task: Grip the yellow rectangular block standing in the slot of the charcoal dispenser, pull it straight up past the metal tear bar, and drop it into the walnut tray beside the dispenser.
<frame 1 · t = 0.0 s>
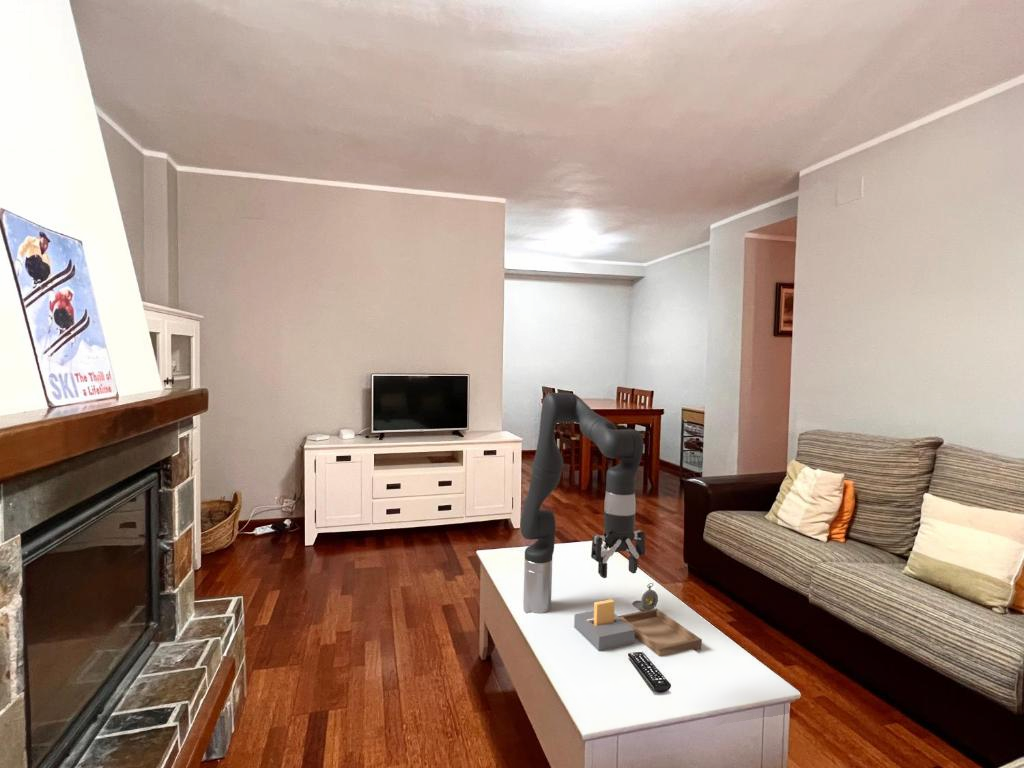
hand: (617, 574, 126), 29 cm above the table, tool pointing down, fingers open, 8 cm apart
tray: (657, 637, 153), on the table
dispenser: (603, 638, 151), on the table
yellow rectangular block: (603, 635, 151), point 1 cm above the table, touching dispenser
pocket watch: (644, 610, 170), on the table
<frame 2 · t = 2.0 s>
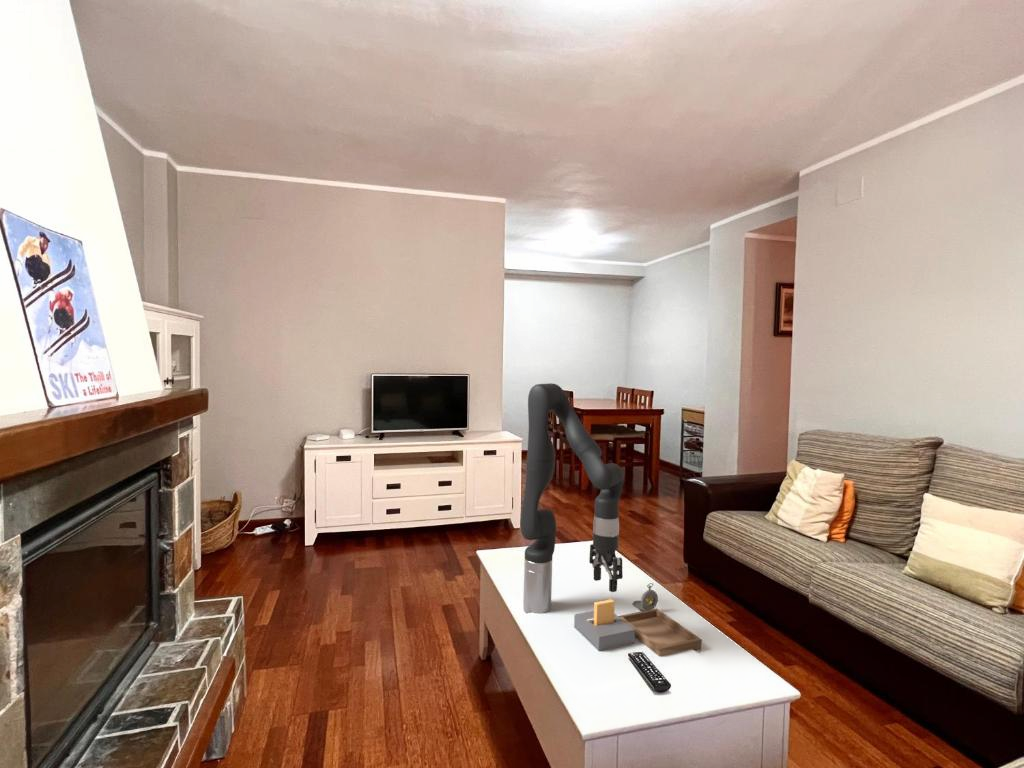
hand: (604, 585, 151), 16 cm above the table, tool pointing down, fingers open, 8 cm apart
nothing on the table moved.
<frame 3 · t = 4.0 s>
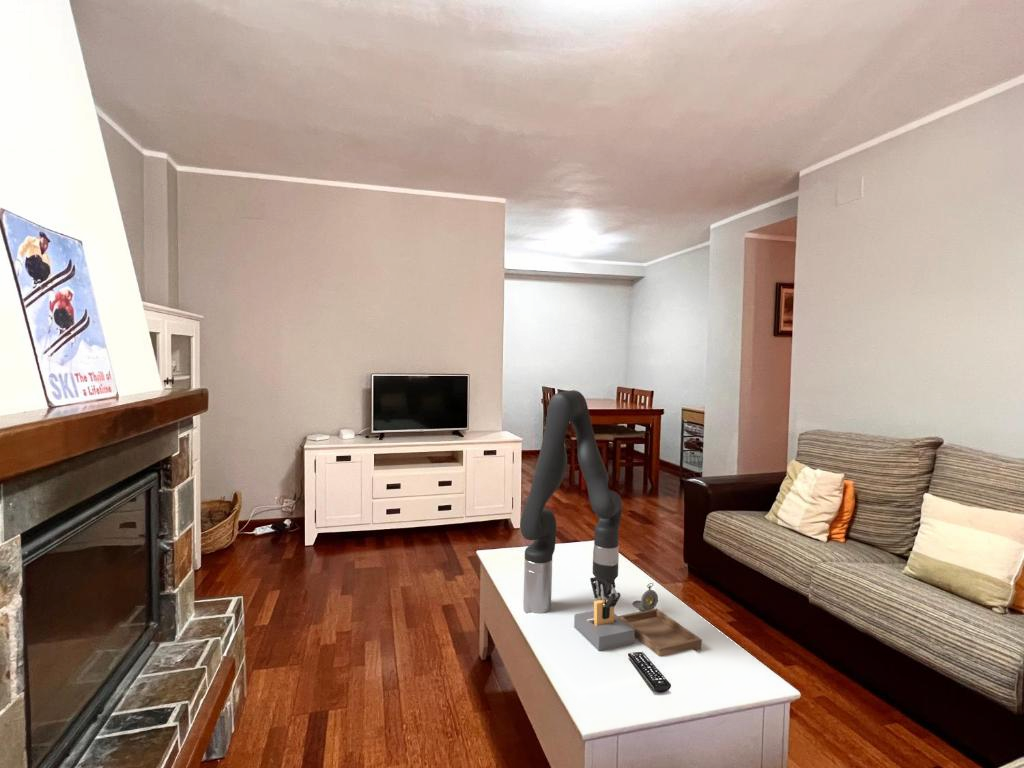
hand: (603, 616, 151), 7 cm above the table, tool pointing down, fingers closed on yellow rectangular block, 1 cm apart
yellow rectangular block: (604, 633, 152), point 1 cm above the table, touching gripper
everything else where it was.
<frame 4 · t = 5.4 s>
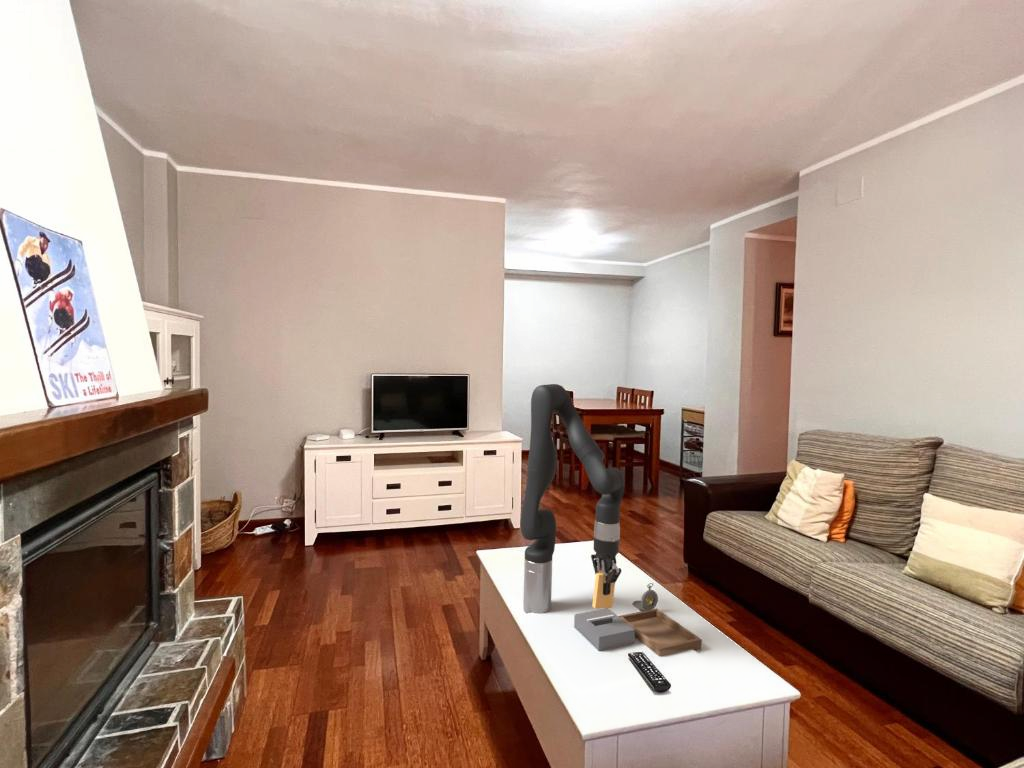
hand: (604, 592, 151), 14 cm above the table, tool pointing down, fingers closed on yellow rectangular block, 1 cm apart
yellow rectangular block: (602, 606, 151), point 9 cm above the table, tilted 6°, touching gripper
everything else where it was.
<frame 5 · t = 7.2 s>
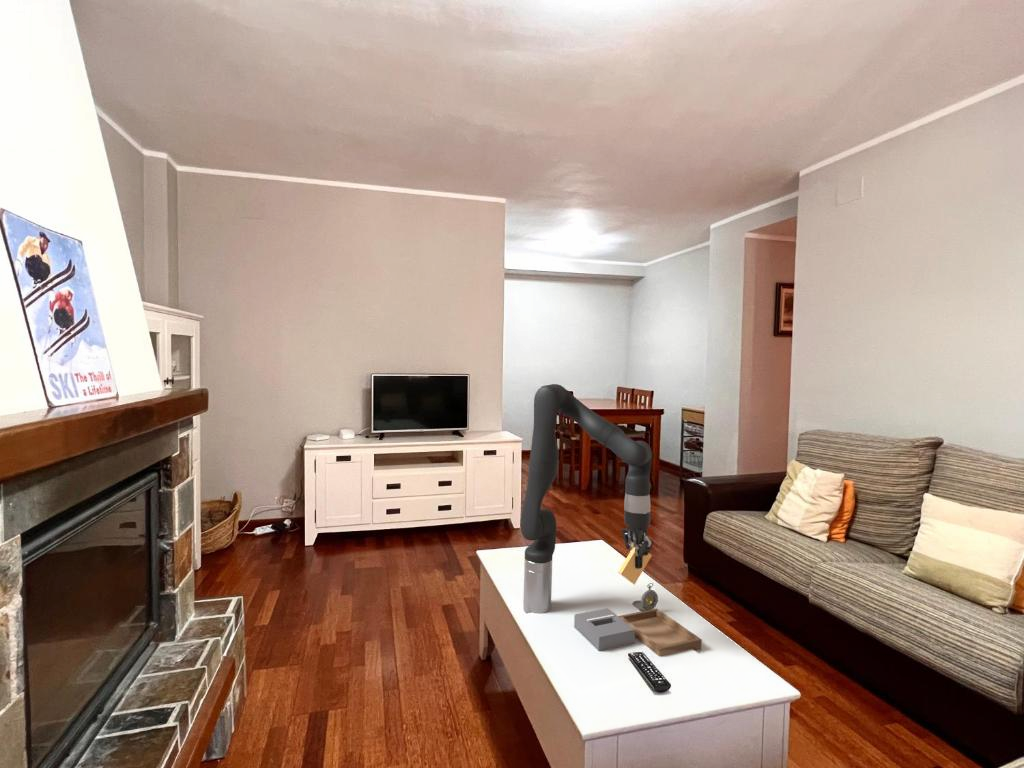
hand: (636, 566, 151), 22 cm above the table, tool pointing down, fingers closed on yellow rectangular block, 1 cm apart
yellow rectangular block: (626, 578, 150), point 19 cm above the table, tilted 37°, touching gripper
everything else where it was.
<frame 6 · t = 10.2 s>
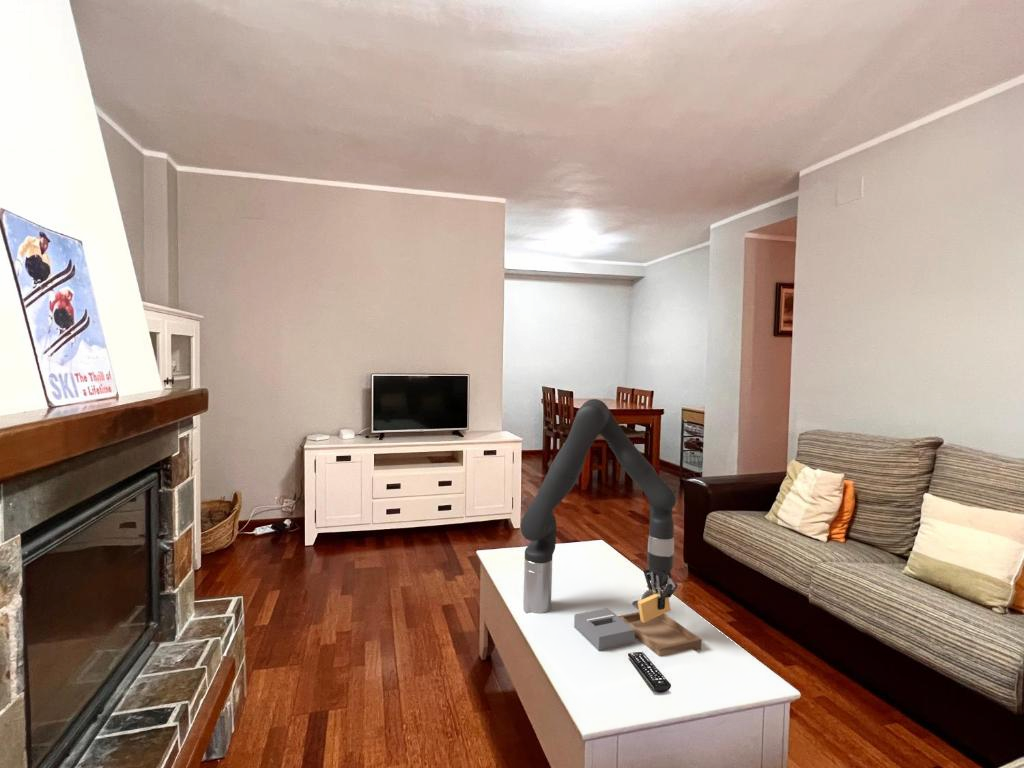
hand: (658, 607, 153), 9 cm above the table, tool pointing down, fingers closed on yellow rectangular block, 1 cm apart
yellow rectangular block: (640, 612, 150), point 9 cm above the table, tilted 77°, touching gripper
everything else where it was.
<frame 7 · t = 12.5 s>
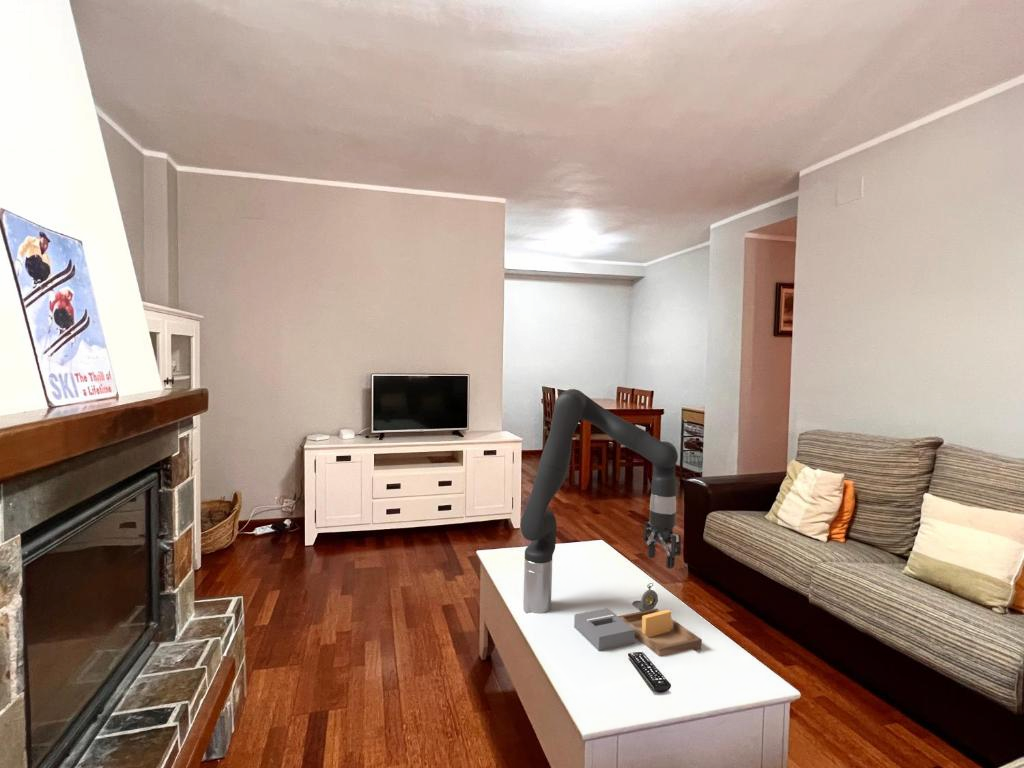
hand: (660, 562, 152), 23 cm above the table, tool pointing down, fingers open, 8 cm apart
yellow rectangular block: (643, 627, 151), point 4 cm above the table, tilted 90°, touching tray
everything else where it was.
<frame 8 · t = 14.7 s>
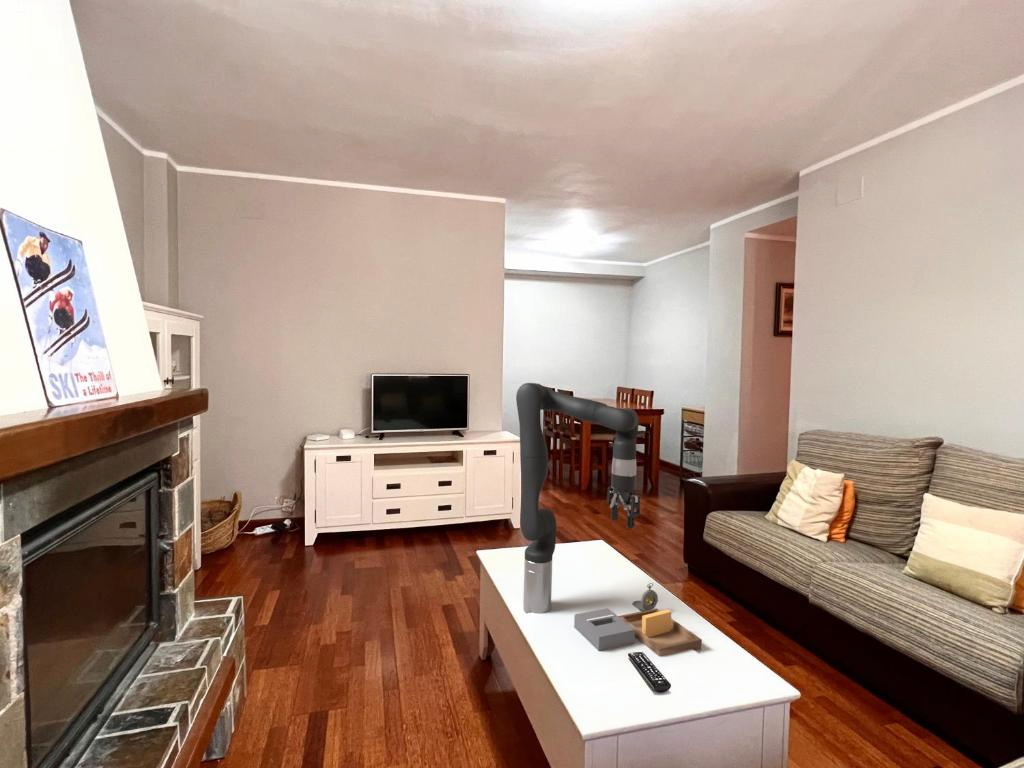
hand: (622, 524, 158), 32 cm above the table, tool pointing down, fingers open, 8 cm apart
nothing on the table moved.
at the end: yellow rectangular block inside the target area on the tray (5.3 cm from its centre), point 4.0 cm above the tray's base; the gripper is holding nothing; yellow rectangular block touching tray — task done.
